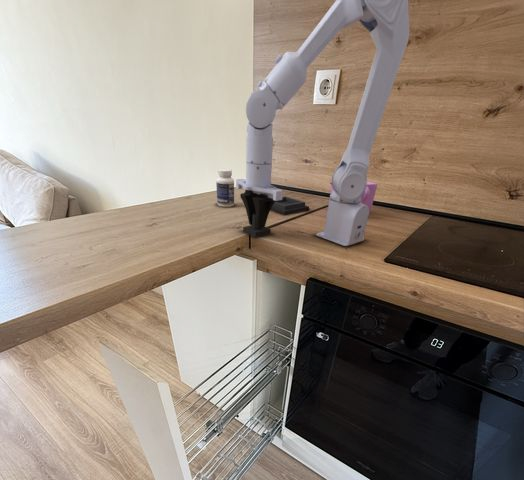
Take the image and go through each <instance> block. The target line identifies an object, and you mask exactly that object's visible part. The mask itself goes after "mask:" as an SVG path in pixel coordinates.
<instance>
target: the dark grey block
mask: <svg viewBox="0 0 524 480" xmlns="http://www.w3.org/2000/svg"><path fill="white" fill-rule="evenodd" d="M242 232H243V233H245V234H247V235H249V236H251V237H253V238H259V237H263V236H268V235H271V233H272V229H271V228H269V227H267V226H265V227H263V228H257V225H256V213H254V214H253V215H252V225H247V226H243V227H242Z"/></svg>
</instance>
